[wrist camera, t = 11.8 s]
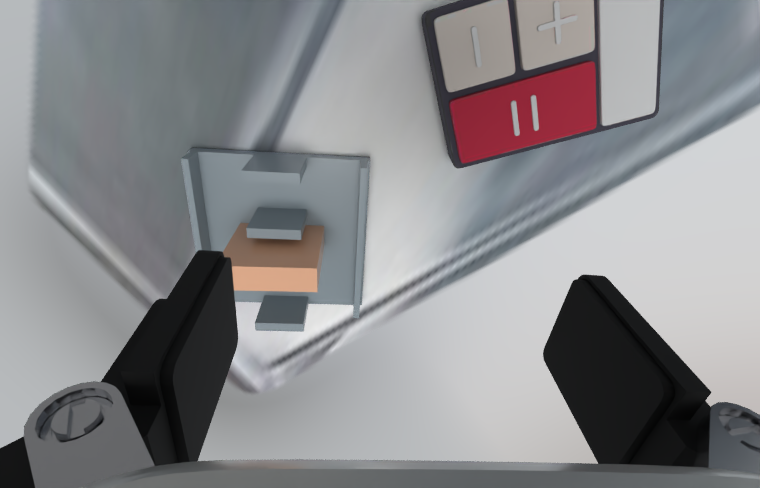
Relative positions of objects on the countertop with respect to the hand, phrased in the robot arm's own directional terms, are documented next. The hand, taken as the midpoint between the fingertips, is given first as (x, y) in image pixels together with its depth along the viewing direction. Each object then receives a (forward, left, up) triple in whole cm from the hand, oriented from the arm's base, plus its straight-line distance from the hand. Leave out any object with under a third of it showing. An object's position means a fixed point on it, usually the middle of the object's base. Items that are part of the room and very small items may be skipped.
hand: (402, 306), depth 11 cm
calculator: (-5, +12, -24) cm, 27 cm away
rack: (+9, -7, -24) cm, 26 cm away
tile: (+9, -7, -23) cm, 25 cm away
